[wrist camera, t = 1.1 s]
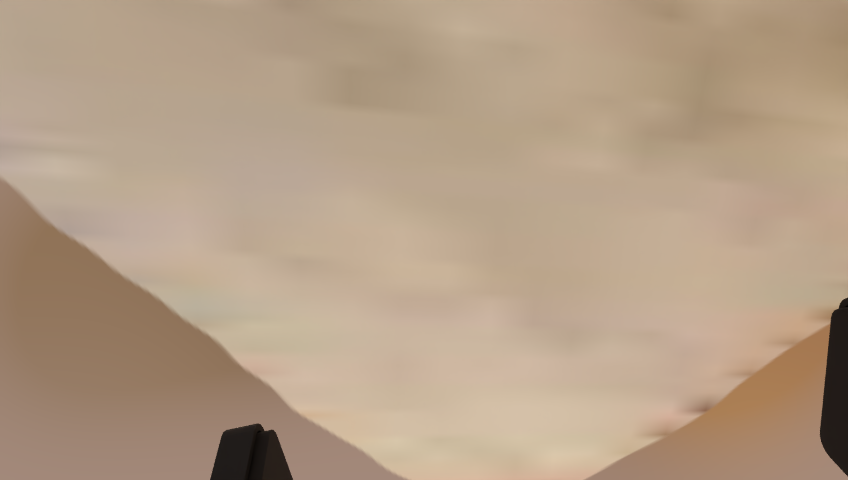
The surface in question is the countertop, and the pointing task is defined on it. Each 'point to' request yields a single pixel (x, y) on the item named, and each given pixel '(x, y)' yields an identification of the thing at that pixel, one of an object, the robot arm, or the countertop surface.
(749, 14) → the countertop surface
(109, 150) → the countertop surface
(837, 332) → the robot arm
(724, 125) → the countertop surface
